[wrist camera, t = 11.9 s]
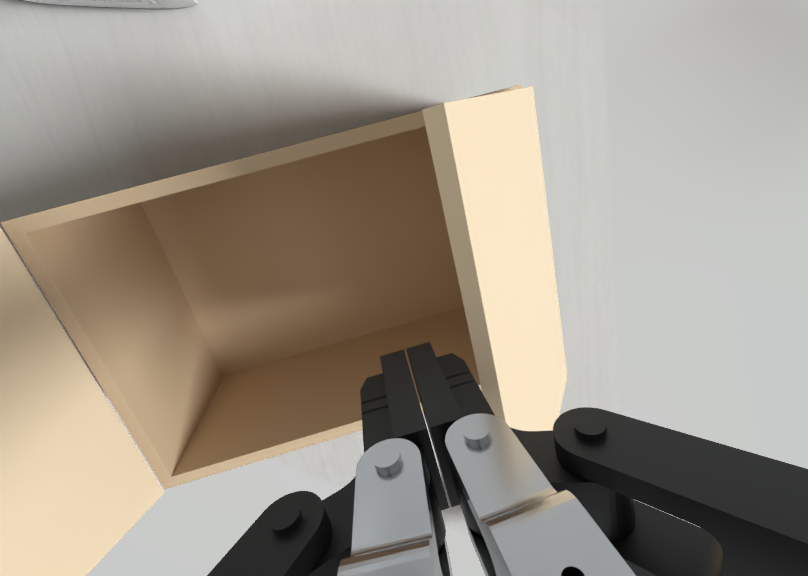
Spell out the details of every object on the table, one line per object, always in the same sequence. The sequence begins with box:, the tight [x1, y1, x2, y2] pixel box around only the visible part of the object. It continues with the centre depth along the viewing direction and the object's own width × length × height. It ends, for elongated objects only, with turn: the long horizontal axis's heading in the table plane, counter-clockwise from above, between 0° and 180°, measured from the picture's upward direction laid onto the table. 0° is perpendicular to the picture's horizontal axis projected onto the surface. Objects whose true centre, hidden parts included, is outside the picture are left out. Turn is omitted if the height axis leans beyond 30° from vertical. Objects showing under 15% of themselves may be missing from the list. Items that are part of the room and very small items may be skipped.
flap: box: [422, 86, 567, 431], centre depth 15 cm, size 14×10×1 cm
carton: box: [0, 84, 522, 489], centre depth 23 cm, size 14×21×10 cm, turn 104°
